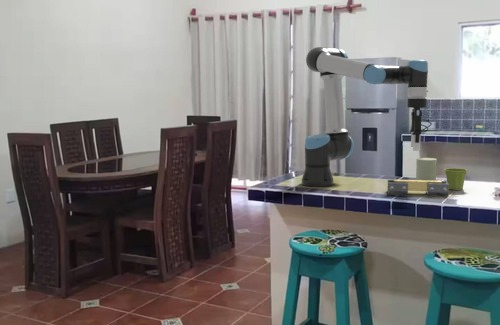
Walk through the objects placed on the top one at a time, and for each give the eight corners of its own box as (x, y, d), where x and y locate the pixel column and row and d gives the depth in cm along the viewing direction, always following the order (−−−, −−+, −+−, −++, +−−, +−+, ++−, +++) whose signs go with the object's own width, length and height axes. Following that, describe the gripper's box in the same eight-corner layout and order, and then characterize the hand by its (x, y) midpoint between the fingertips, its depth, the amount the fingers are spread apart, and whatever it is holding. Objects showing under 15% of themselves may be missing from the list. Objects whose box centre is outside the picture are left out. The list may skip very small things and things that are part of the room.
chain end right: (428, 195, 211) (428, 184, 210) (426, 192, 219) (426, 180, 218) (448, 196, 209) (449, 184, 208) (445, 192, 217) (446, 181, 216)
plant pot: (440, 187, 229) (441, 168, 228) (461, 187, 229) (462, 168, 228) (448, 191, 220) (448, 171, 219) (470, 190, 220) (470, 171, 218)
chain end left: (388, 194, 214) (388, 183, 214) (387, 191, 223) (387, 179, 222) (407, 195, 212) (408, 183, 212) (406, 191, 221) (406, 180, 220)
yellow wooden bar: (394, 190, 216) (394, 180, 216) (394, 188, 220) (394, 179, 219) (441, 191, 212) (442, 182, 211) (440, 189, 215) (441, 180, 215)
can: (414, 181, 246) (415, 156, 244) (434, 181, 244) (435, 156, 242) (416, 184, 237) (417, 159, 235) (437, 185, 235) (438, 159, 233)
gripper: (429, 98, 199) (427, 152, 202) (423, 97, 223) (422, 145, 226) (409, 98, 200) (407, 152, 203) (406, 97, 224) (404, 145, 227)
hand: (415, 148), depth 214 cm, fingers open, 13 cm apart
